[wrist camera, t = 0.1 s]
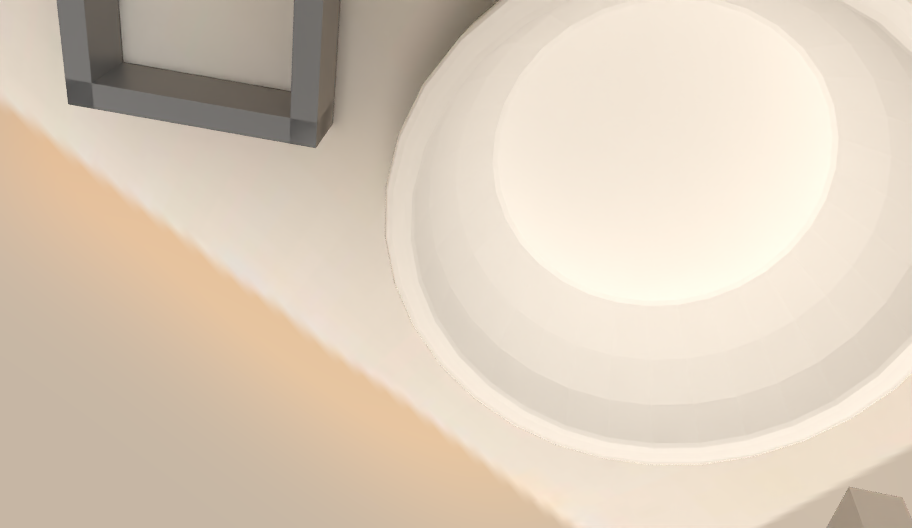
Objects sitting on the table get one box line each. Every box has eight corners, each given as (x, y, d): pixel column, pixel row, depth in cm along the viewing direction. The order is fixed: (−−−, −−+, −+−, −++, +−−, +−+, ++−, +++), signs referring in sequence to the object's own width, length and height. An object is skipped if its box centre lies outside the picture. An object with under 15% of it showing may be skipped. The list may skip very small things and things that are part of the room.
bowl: (525, 400, 48) (515, 513, 41) (334, 27, 38) (277, 90, 31) (963, 282, 41) (1043, 394, 34) (861, -210, 31) (943, -199, 24)
